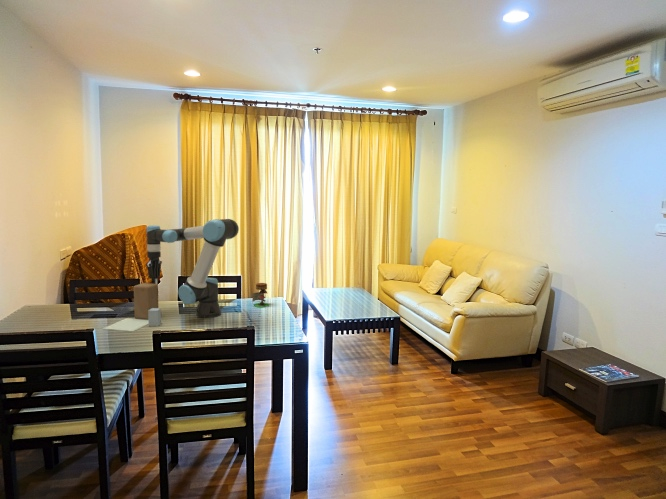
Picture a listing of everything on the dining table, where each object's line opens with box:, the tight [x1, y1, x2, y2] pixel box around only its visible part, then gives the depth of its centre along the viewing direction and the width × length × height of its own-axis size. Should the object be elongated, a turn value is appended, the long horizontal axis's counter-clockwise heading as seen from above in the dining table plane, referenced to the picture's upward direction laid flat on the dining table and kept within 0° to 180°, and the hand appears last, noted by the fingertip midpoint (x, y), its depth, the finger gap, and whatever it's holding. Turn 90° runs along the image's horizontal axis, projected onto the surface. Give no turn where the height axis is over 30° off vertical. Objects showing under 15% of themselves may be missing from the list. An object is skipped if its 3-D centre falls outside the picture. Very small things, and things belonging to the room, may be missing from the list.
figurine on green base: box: [251, 282, 270, 308], centre depth 284 cm, size 12×13×15 cm
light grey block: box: [148, 307, 162, 327], centre depth 236 cm, size 5×5×9 cm
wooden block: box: [133, 282, 159, 320], centre depth 249 cm, size 10×10×20 cm
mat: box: [102, 317, 149, 333], centre depth 234 cm, size 18×20×1 cm
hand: (154, 289), depth 257 cm, fingers closed
